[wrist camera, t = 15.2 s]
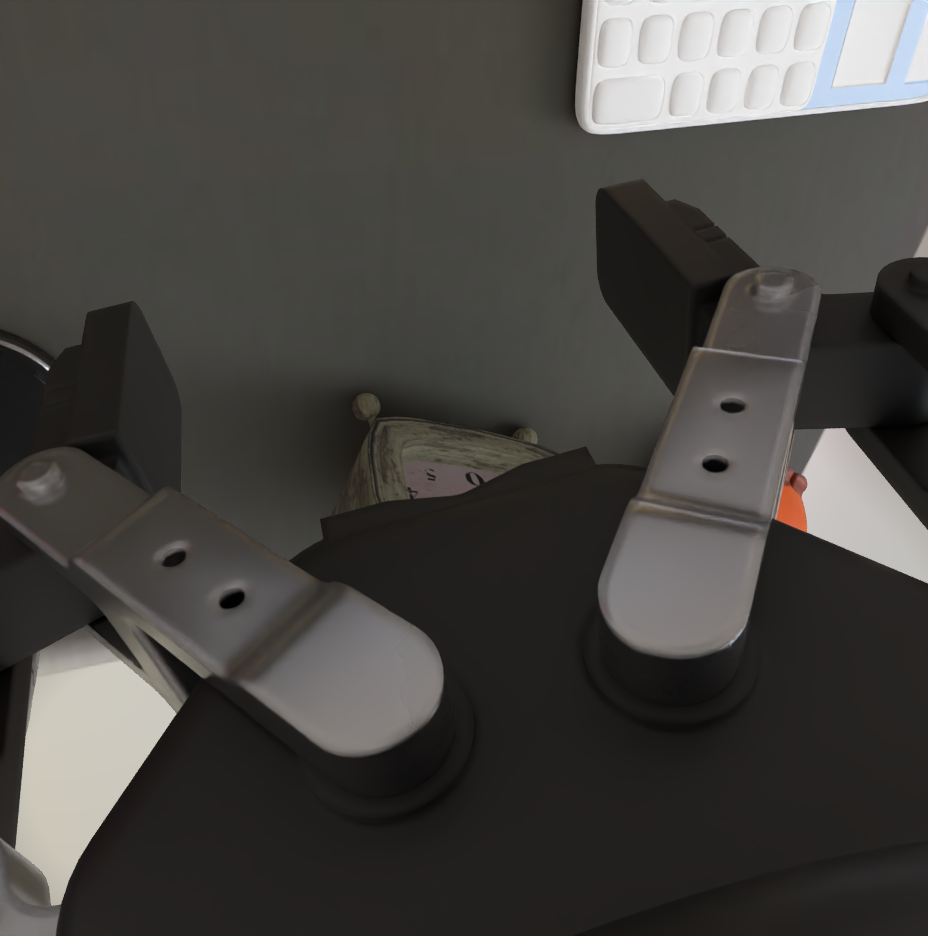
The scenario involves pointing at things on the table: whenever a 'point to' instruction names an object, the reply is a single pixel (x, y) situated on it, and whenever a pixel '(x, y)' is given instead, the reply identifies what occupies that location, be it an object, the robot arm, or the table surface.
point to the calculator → (744, 60)
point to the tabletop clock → (427, 458)
